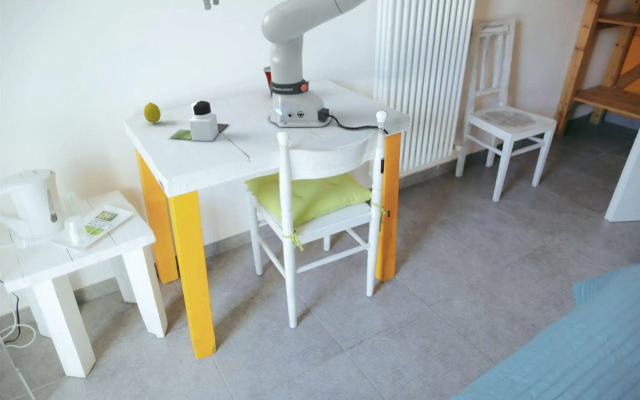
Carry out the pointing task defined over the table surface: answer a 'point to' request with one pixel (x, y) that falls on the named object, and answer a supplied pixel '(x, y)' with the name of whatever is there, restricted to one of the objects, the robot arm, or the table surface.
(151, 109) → the lemon
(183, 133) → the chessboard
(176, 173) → the table surface
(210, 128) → the medicine bottle
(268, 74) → the plastic cup
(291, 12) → the robot arm
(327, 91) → the table surface
